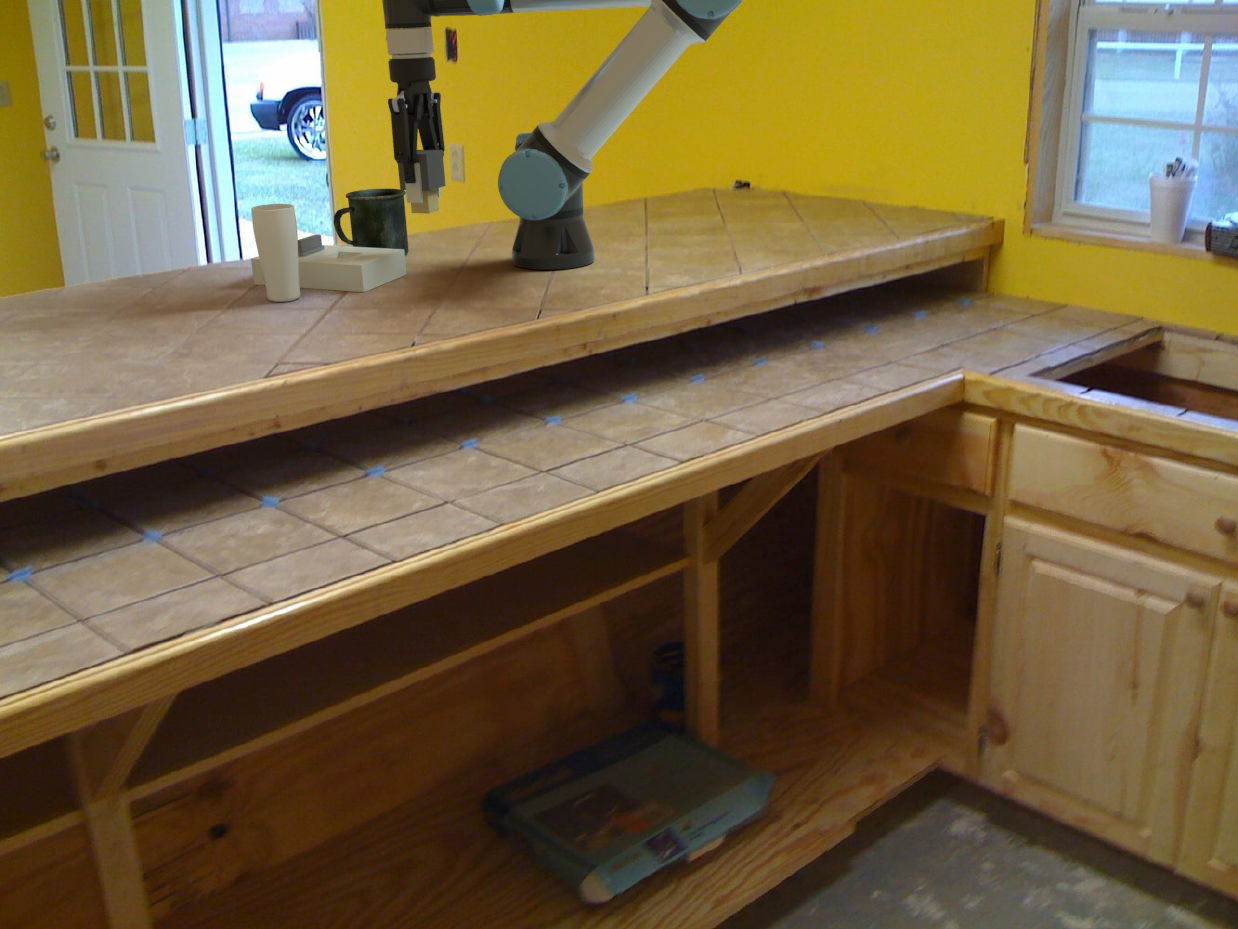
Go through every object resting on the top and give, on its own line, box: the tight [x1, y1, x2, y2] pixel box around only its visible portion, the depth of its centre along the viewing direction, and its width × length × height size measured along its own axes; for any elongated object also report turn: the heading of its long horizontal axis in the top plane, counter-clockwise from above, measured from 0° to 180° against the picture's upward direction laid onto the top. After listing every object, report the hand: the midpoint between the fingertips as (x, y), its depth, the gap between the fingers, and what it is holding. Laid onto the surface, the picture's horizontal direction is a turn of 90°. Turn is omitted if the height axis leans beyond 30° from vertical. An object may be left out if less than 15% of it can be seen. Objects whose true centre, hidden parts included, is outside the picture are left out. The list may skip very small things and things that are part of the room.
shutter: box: [298, 233, 324, 256], centre depth 208 cm, size 6×6×3 cm
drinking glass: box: [251, 203, 301, 303], centre depth 192 cm, size 7×7×15 cm
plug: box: [397, 149, 446, 214], centre depth 202 cm, size 6×6×10 cm
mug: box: [333, 188, 410, 257], centre depth 224 cm, size 11×15×12 cm
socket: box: [250, 244, 407, 293], centre depth 207 cm, size 22×14×4 cm, turn 69°
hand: (424, 199), depth 203 cm, fingers closed on plug, 6 cm apart
